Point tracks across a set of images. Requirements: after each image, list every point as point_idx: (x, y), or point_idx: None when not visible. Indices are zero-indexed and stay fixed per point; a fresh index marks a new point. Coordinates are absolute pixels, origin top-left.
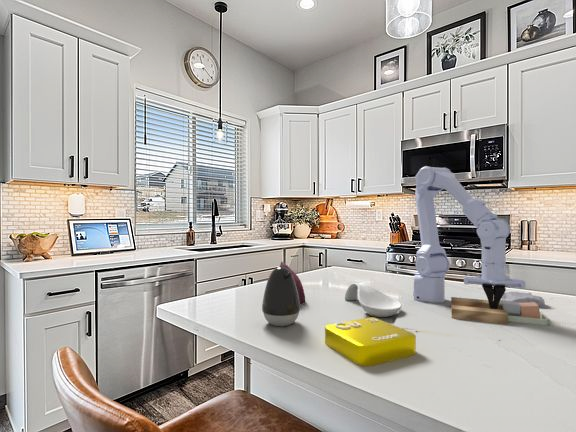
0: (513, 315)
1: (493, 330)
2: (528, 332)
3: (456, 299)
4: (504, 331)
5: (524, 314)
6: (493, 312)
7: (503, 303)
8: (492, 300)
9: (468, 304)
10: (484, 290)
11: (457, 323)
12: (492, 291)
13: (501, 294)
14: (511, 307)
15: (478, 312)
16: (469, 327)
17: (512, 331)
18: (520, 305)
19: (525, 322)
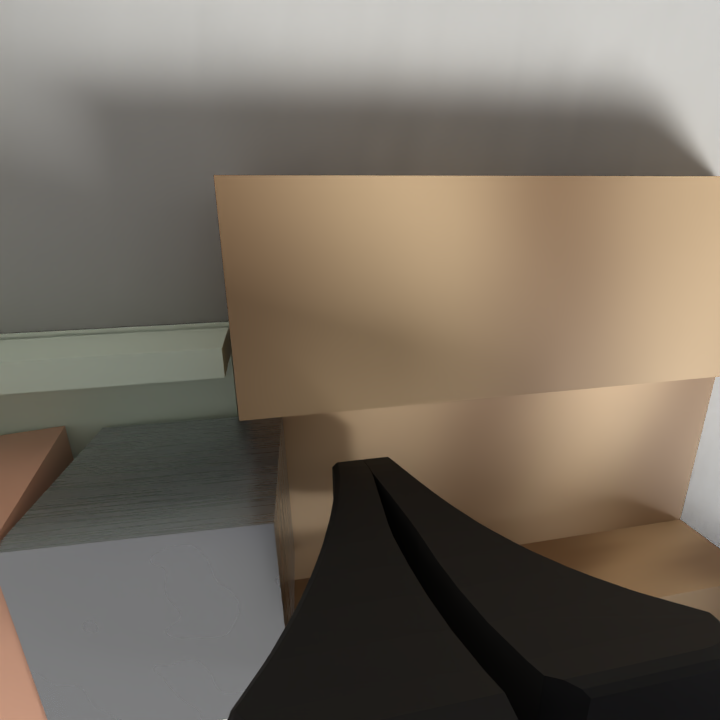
0: (151, 448)
1: (388, 10)
2: (4, 94)
3: None
4: (274, 17)
5: (2, 474)
6: (417, 200)
7: (264, 520)
8: (432, 532)
9: None
10: (713, 619)
11: (687, 142)
12: (537, 644)
13: (310, 646)
14: (150, 504)
15: (596, 177)
16: (609, 32)
17: (186, 58)
18: (1, 604)
19: (24, 343)
